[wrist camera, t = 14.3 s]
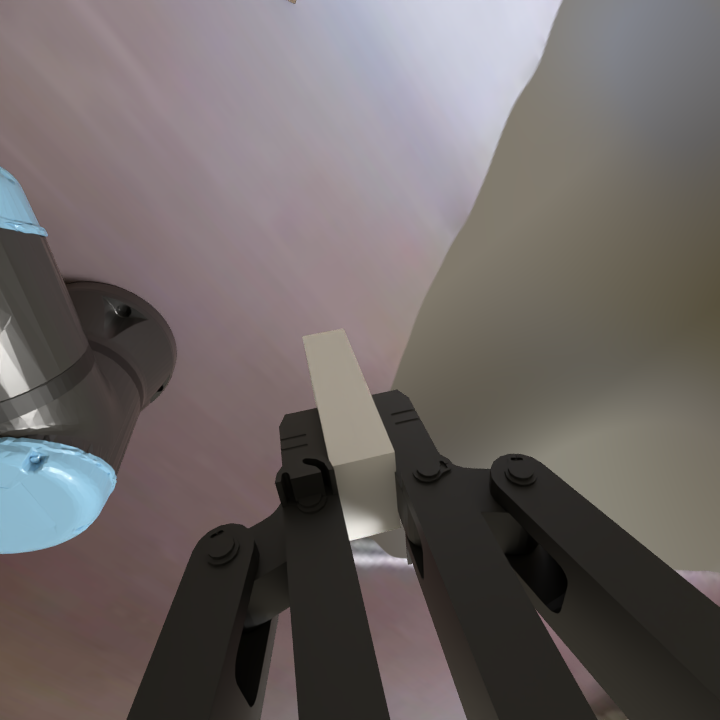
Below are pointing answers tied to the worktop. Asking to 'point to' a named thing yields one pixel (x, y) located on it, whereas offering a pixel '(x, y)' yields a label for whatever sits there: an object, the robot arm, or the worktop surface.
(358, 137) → the worktop surface
